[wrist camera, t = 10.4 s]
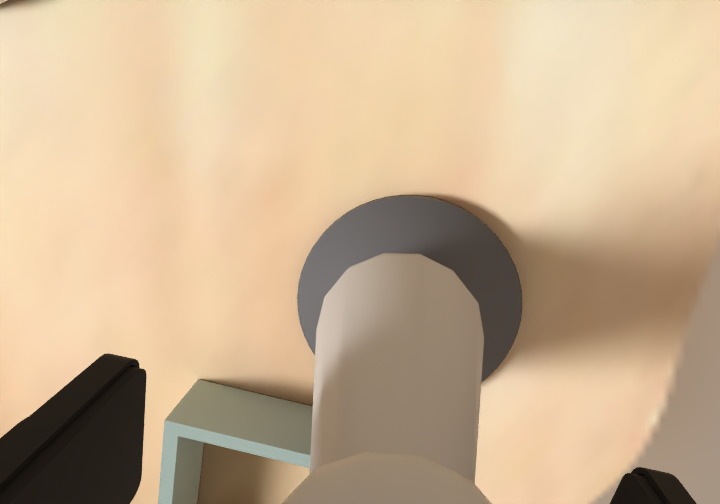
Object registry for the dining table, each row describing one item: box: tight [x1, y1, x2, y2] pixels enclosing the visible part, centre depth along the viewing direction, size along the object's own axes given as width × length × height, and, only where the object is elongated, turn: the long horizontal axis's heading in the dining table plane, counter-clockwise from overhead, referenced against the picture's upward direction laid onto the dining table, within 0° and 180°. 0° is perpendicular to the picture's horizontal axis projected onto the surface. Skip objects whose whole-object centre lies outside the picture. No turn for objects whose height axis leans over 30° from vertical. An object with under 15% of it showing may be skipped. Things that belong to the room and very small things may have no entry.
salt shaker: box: [282, 253, 491, 504], centre depth 12 cm, size 6×6×13 cm
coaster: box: [297, 195, 522, 382], centre depth 18 cm, size 9×9×1 cm
